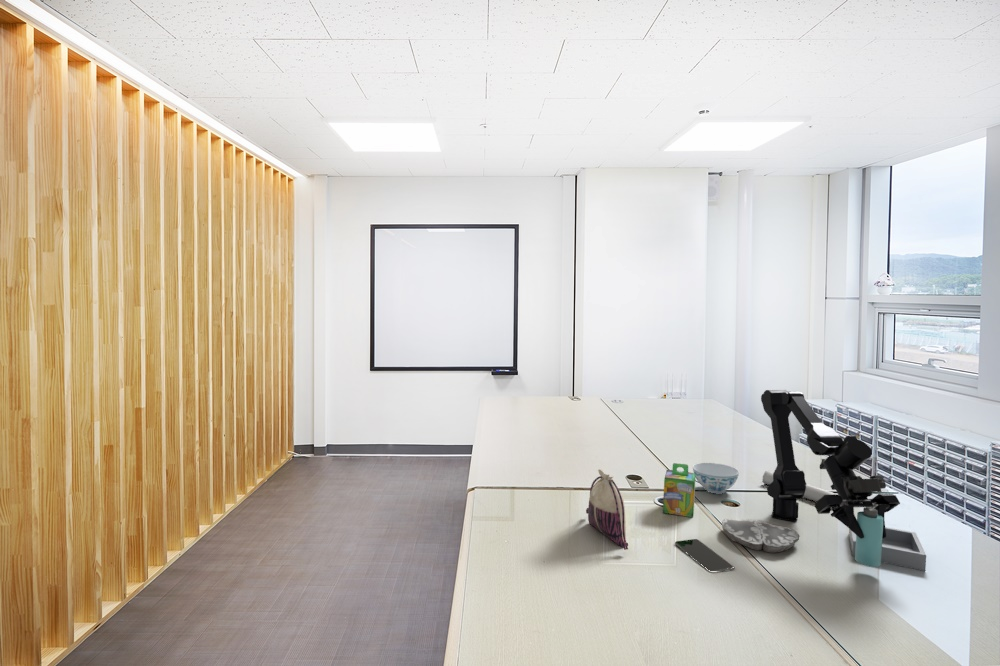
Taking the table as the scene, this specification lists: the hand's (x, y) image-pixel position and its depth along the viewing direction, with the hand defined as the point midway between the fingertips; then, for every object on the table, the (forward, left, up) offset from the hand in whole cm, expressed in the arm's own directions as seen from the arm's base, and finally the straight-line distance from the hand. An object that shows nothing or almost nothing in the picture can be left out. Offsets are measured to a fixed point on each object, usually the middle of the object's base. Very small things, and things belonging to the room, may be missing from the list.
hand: (873, 537), depth 127 cm
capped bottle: (-1, +1, -7) cm, 7 cm away
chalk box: (-49, +17, -10) cm, 53 cm away
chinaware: (-42, +42, -10) cm, 60 cm away
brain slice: (-25, +6, -10) cm, 28 cm away
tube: (-16, +53, -10) cm, 56 cm away
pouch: (-63, -12, -10) cm, 65 cm away
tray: (+4, +17, -9) cm, 20 cm away
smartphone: (-37, -11, -10) cm, 40 cm away
